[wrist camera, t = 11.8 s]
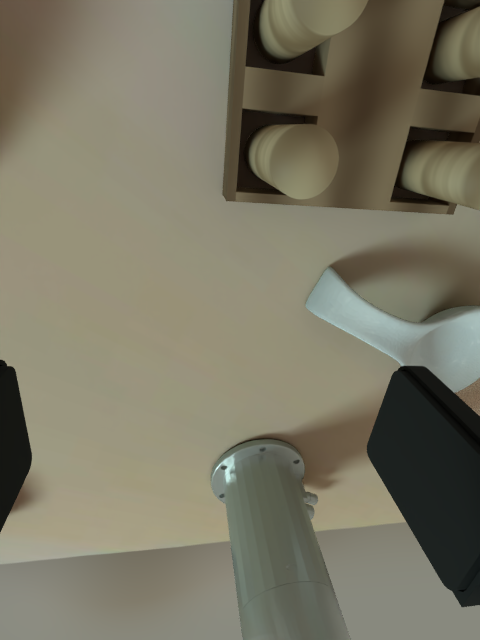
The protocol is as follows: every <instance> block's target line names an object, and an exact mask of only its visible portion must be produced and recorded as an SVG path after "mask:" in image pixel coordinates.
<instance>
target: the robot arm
mask: <svg viewBox="0 0 480 640" xmlns="http://www.w3.org/2000/svg"><path fill="white" fill-rule="evenodd" d="M367 453H368V457H369V459H370V461H371V462H372V464H373V466H374V467H375V469H376V471H377V473H378V474H379V476H380V478H381V479H382V481H383V483H384V484H385V486H386V488H387V489H388V491H389V493H390V495H391V496H392V498H393V500H394V501H395V503H396V505H397V506H398V508H399V510H400V512H401V513H402V515H403V517H404V518H405V520H406V522H407V523H408V525H409V527H410V528H411V530H412V532H413V534H414V535H415V537H416V538H417V540H418V542H419V544H420V546H421V547H422V549H423V551H424V552H425V554H426V556H427V557H428V559H429V561H430V563H431V564H432V566H433V568H434V569H435V571H436V573H437V574H438V576H439V578H440V580H441V581H442V583H443V584H444V585H445V586H446V587H447V588H448V589H449V590H451V591H453V593H454V595H455V597H456V598H457V600H458V601H459V603H460V605H461V607H467V606H475V605H480V416H479V415H478V414H476V413H475V412H474V411H473V410H472V409H471V408H470V407H469V406H468V405H467V404H466V403H465V402H463V401H462V400H461V399H460V398H459V397H458V396H457V395H456V394H455V393H454V392H453V391H452V390H451V389H449V388H448V387H447V386H446V385H445V384H444V383H443V382H442V381H441V380H440V379H439V378H438V377H436V376H435V375H434V374H433V373H432V372H431V371H430V370H429V369H428V368H426V367H425V366H401V367H400V368H399V369H398V371H395V372H394V373H393V375H392V377H391V380H390V382H389V385H388V388H387V391H386V394H385V396H384V399H383V402H382V405H381V408H380V410H379V413H378V416H377V419H376V422H375V424H374V427H373V430H372V433H371V436H370V438H369V441H368V444H367ZM31 461H32V453H31V448H30V443H29V438H28V432H27V427H26V422H25V417H24V412H23V407H22V402H21V397H20V392H19V387H18V382H17V376H16V372H15V369H14V368H13V367H11V366H7V364H6V363H5V361H3V360H0V532H1V530H2V528H3V526H4V523H5V521H6V519H7V517H8V515H9V513H10V511H11V508H12V506H13V504H14V502H15V500H16V498H17V496H18V493H19V491H20V489H21V487H22V485H23V483H24V481H25V478H26V476H27V474H28V472H29V469H30V466H31ZM304 473H305V465H304V462H303V459H302V457H301V455H300V453H299V452H298V451H297V450H296V449H295V448H294V447H293V446H291V445H290V444H288V443H285V442H283V441H278V440H273V439H261V440H253V441H249V442H245V443H243V444H240V445H238V446H236V447H234V448H232V449H230V450H229V451H228V452H226V453H225V454H224V455H222V456H221V458H220V459H219V460H218V461H217V462H216V464H215V465H214V467H213V470H212V473H211V486H212V490H213V492H214V494H215V496H216V497H217V498H218V499H219V500H220V501H222V502H223V503H225V504H226V511H227V519H228V527H229V535H230V543H231V551H232V559H233V568H234V576H235V584H236V592H237V600H238V608H239V616H240V624H241V631H242V637H243V640H351V638H350V635H349V633H348V630H347V627H346V624H345V621H344V618H343V615H342V613H341V610H340V607H339V604H338V601H337V598H336V595H335V592H334V589H333V586H332V583H331V580H330V577H329V574H328V571H327V568H326V565H325V562H324V559H323V556H322V553H321V550H320V547H319V544H318V541H317V538H316V535H315V532H314V529H313V526H312V523H311V519H312V518H313V516H314V508H313V506H311V505H309V504H312V505H315V504H316V503H317V501H318V497H317V495H316V494H313V493H310V492H305V489H304V486H303V483H302V479H303V477H304ZM305 502H306V503H309V504H306V503H305Z"/></svg>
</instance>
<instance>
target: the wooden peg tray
mask: <svg viewBox="0 0 480 640" xmlns="http://www.w3.org/2000/svg"><path fill="white" fill-rule="evenodd" d="M443 5H445V6H451V7H456V8H462V9H468V10H470V11H467V12H465V13H462V14H460V15H457V16H455V17H452V18H450V19H447V20H445V21H442V22H440V23H438V22H439V18H440V14H441V11H442V7H443ZM249 12H250V0H234V1H233V19H232V36H231V54H230V72H229V89H228V107H227V124H226V142H225V159H224V177H223V194H222V195H223V196H224V198H225V199H226V201H235V202H252V203H269V204H285V205H302V206H319V207H335V208H352V209H369V210H386V211H402V212H419V213H436V214H454V211H455V208H456V206H457V204H459V205H463V206H466V207H470V208H473V209H477V210H480V143H479V141H480V0H264V1H263V2H262V4H261V5H260V7H259V8H258V10H257V12H256V15H255V19H254V24H253V36H254V41H255V44H256V47H257V49H258V51H259V52H260V54H261V55H262V56H263V57H264V58H265V59H266V60H268V61H269V62H272V63H275V64H284V63H288V62H290V61H292V60H293V59H295V58H297V57H298V56H300V55H302V54H304V53H305V52H307V51H309V50H310V49H312V48H314V47H316V49H315V56H314V63H313V69H312V75H309V74H302V73H294V72H286V71H278V70H270V69H262V68H254V67H246V52H247V39H248V25H249ZM423 79H424V80H425V81H426V82H428V83H430V84H441V83H447V82H453V81H459V80H466V81H465V84H464V87H463V91H462V94H460V93H452V92H444V91H436V90H428V89H420V88H421V85H422V81H423ZM242 110H243V111H252V112H262V113H271V114H281V115H290V116H300V117H305V124H314V125H318V126H320V127H322V128H324V129H325V130H327V131H328V132H329V133H330V134H331V136H332V137H333V138H334V140H335V142H336V145H337V148H338V154H339V162H338V168H337V172H336V174H335V177H334V179H333V180H332V182H331V183H330V185H329V186H328V187H327V188H326V189H325V190H324V191H323V192H322V193H320V194H319V195H317V196H315V197H313V198H309V199H294V198H291V197H289V196H287V195H286V194H284V193H283V192H281V191H279V190H277V189H262V188H247V187H237V174H238V161H239V147H240V134H241V120H242ZM410 128H415V129H424V130H434V131H444V132H449V135H448V138H447V141H433V140H410V141H407V142H406V140H407V136H408V133H409V129H410ZM394 185H395V186H396V187H398V188H402V189H405V190H409V191H412V192H416V193H420V194H423V195H427V196H429V198H428V200H426V199H412V198H397V197H391V196H392V192H393V188H394Z"/></svg>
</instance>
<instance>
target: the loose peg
mask: <svg viewBox="0 0 480 640" xmlns="http://www.w3.org/2000/svg"><path fill="white" fill-rule="evenodd" d="M244 158H245V162H246V165H247V167H248V168H249V170H250V171H251V172H252V173H253V174H254V175H256V176H257V177H259V178H261V179H262V180H264V181H265V182H267V183H268V184H270V185H272V186H273V187H275V188H276V189H278V190H279V191H281V192H283V193H284V194H286V195H287V196H289V197H291V198H294V199H309V198H313V197H315V196H317V195H319V194H320V193H322V192H323V191H324V190H325V189H326V188H327V187H328V186H329V185H330V183H331V182H332V180H333V179H334V177H335V174H336V172H337V168H338V162H339V154H338V148H337V145H336V142H335V140H334V138H333V137H332V136H331V134H330V133H329V132H328V131H327V130H325V129H324V128H322V127H320V126H318V125H314V124H288V125H264V126H261V127H259V128H257V129H256V130H254V131H253V132H252V133H251V134H250V136H249V137H248V139H247V141H246V144H245V148H244Z"/></svg>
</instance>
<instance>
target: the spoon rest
mask: <svg viewBox="0 0 480 640" xmlns="http://www.w3.org/2000/svg"><path fill="white" fill-rule="evenodd" d="M306 308H307V309H308V310H310V311H311V312H312V313H314V314H315V315H316V316H318V317H320V318H321V319H323V320H325V321H327V322H329V323H331V324H333V325H335V326H336V327H338V328H340V329H342V330H344V331H346V332H348V333H350V334H352V335H353V336H355V337H357V338H359V339H361V340H363V341H364V342H366V343H368V344H370V345H371V346H373V347H375V348H377V349H378V350H380V351H382V352H384V353H386V354H387V355H389V356H391V357H392V358H394V359H395V360H397V361H398V362H399V363H400V365H401V366H425V367H426V368H428V369H429V370H430V371H431V372H432V373H433V374H434V375H435V376H436V377H438V378H439V379H440V380H441V381H442V382H443V383H444V384H445V385H446V386H447V387H448V388H449V389H451V390H452V391H453V392H454V393H455V392H458V391H460V390H462V389H464V388H466V387H468V386H469V385H471V384H472V383H474V382H475V381H476V380H477V379H479V378H480V306H462V307H455V308H450V309H447V310H444V311H441V312H439V313H437V314H434V315H433V316H431V317H429V318H428V319H426V320H425V321H423V322H421V323H417V322H410V321H407V320H404V319H401V318H398V317H396V316H394V315H391V314H389V313H387V312H385V311H383V310H381V309H379V308H377V307H376V306H374V305H372V304H371V303H369V302H368V301H366V300H365V299H364V298H362V297H361V296H360V295H358V294H357V293H356V292H355V291H354V290H353V289H351V288H350V287H349V286H348V284H347V283H346V282H345V281H344V280H343V279H342V278H341V277H340V276H339V275H338V273H337V272H336V271H335V270H334V269H333V268H332V267H328V268H327V269H326V270H325V271H324V273H323V275H322V276H321V278H320V280H319V281H318V283H317V284H316V286H315V287H314V289H313V291H312V292H311V294H310V296H309V298H308V300H307V302H306Z"/></svg>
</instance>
